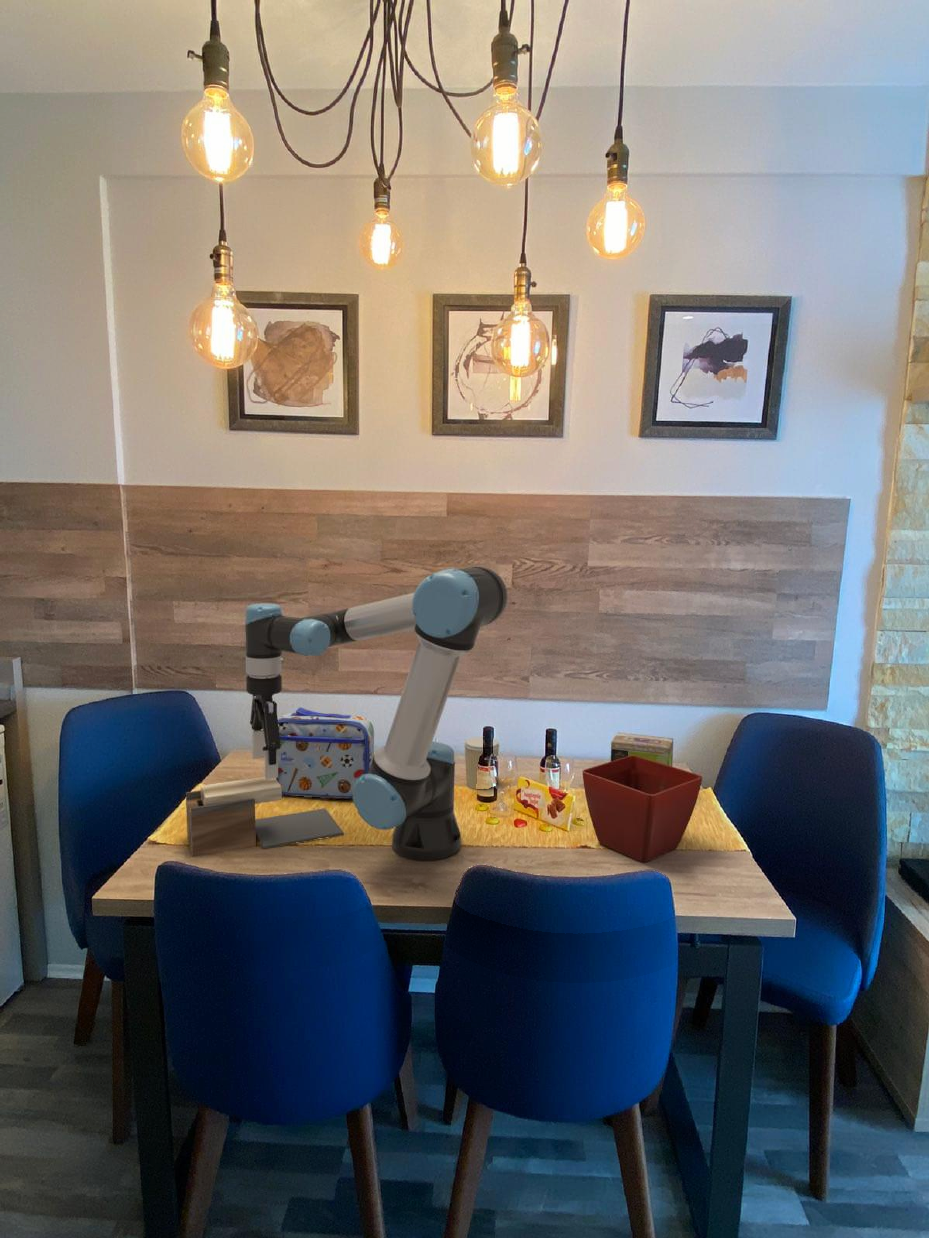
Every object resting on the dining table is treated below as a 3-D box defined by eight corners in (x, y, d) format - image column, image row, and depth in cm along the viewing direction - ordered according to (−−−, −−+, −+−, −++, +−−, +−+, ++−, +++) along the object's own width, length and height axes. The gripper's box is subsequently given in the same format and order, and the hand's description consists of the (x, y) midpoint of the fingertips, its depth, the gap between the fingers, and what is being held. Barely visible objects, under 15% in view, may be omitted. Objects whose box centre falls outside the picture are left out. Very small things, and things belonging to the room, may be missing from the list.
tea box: (671, 791, 201) (674, 737, 199) (667, 804, 192) (670, 748, 190) (615, 782, 207) (617, 730, 205) (608, 795, 197) (610, 740, 195)
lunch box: (261, 797, 191) (259, 713, 188) (275, 783, 201) (274, 703, 198) (368, 804, 188) (368, 718, 185) (377, 788, 199) (377, 707, 195)
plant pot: (629, 820, 181) (633, 753, 179) (699, 848, 167) (704, 775, 165) (576, 842, 169) (579, 770, 167) (647, 874, 155) (652, 796, 152)
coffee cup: (504, 782, 205) (505, 740, 203) (487, 793, 197) (488, 749, 195) (474, 776, 209) (475, 734, 208) (457, 786, 201) (457, 743, 200)
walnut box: (255, 845, 164) (254, 799, 163) (192, 856, 159) (191, 808, 157) (247, 827, 173) (246, 783, 172) (187, 837, 167) (185, 792, 166)
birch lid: (281, 799, 167) (281, 786, 166) (205, 811, 160) (205, 797, 159) (274, 787, 174) (273, 775, 173) (200, 798, 166) (200, 785, 166)
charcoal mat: (343, 834, 170) (343, 832, 170) (262, 849, 163) (262, 846, 162) (325, 810, 184) (325, 808, 184) (249, 822, 176) (249, 820, 176)
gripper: (294, 686, 156) (295, 784, 159) (269, 662, 178) (270, 748, 181) (257, 689, 152) (259, 789, 155) (236, 664, 174) (237, 752, 178)
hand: (264, 767), depth 168 cm, fingers open, 13 cm apart
